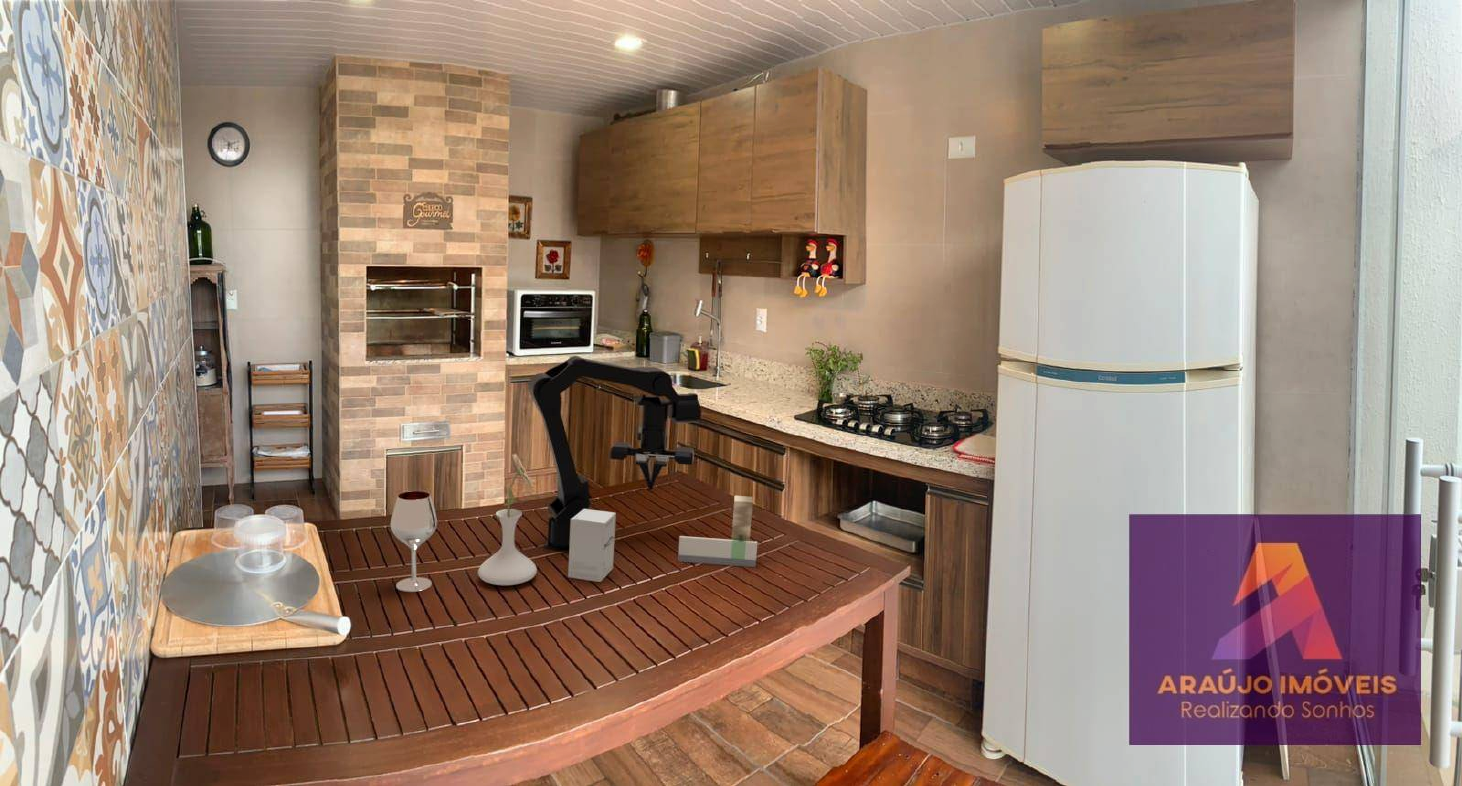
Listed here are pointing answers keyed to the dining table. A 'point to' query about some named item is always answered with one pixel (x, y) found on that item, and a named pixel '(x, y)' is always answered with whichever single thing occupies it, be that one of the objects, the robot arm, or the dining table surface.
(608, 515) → the supplement box
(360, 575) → the dining table surface
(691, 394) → the robot arm
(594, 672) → the dining table surface
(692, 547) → the board
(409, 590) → the wineglass
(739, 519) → the beige brown box
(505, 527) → the flower in vase
